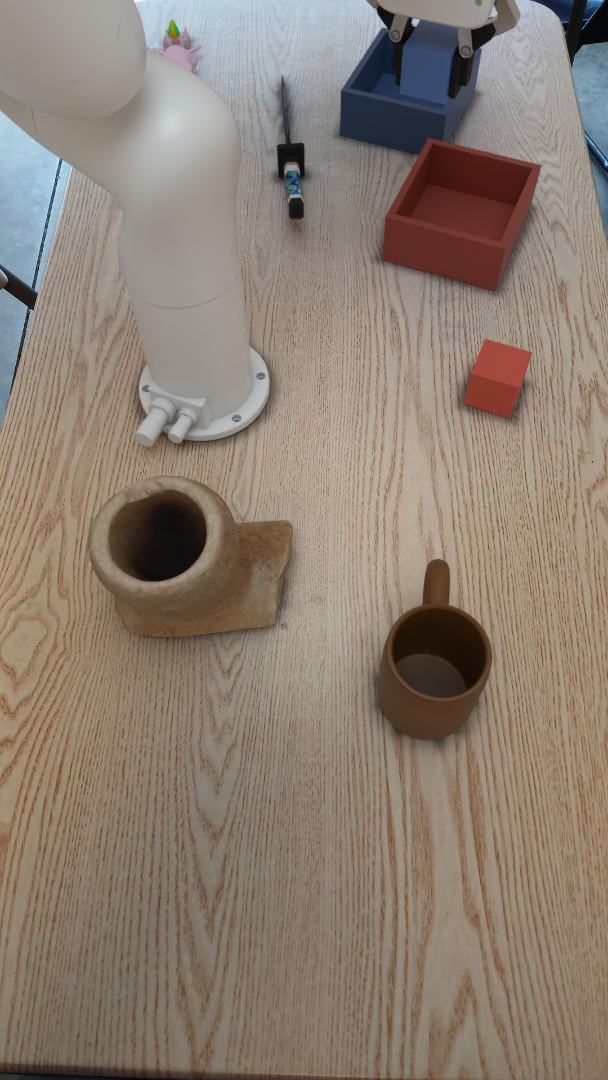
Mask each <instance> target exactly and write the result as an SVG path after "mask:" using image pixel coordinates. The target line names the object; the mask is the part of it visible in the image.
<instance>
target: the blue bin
mask: <svg viewBox="0 0 608 1080" xmlns="http://www.w3.org/2000/svg"><path fill="white" fill-rule="evenodd" d="M389 32H390V31H389V30H388V28H387V27H381V28H380V30H379V31H378V33H377V34H376V36H375V38H374V39H373V41H372V42H371V44H370V45H369V47H368V48H367V49H366V51H365V52H364V54H363V56H362V57H361V59H360V61H358V63H357V65H356V66H355V68H354V70H353V71H352V73H351V74H350V76H349V77H348V79H347V80H346V82H345V83H344V85H343V87H342V88H341V90H340V115H339V116H340V117H339V119H340V120H339V126H340V127H339V136H342V137H346V138H350V139H354V140H358V141H361V142H367V143H369V144H374V145H378V146H383V147H387V148H391V149H395V150H398V151H403V152H407V153H411V154H416V155H419V154H420V152H421V151H422V149H423V147H424V145H425V143H426V141H427V139H428V138H431V139H435V140H440V141H444V142H448V143H451V142H450V141H451V140H452V138H453V136H454V134H455V132H456V130H457V128H458V126H459V125H460V123H461V121H462V119H463V117H464V115H465V113H466V112H467V109H468V107H469V106H470V103H471V102H472V99H473V98H474V95H475V93H476V88H477V81H478V75H479V69H480V63H481V58H482V51H483V48H481V47H480V48H479V49H477V50H476V51H475V53H474V60H473V66H472V73H471V78H470V81H469V83H468V85H467V87H465V86H462V87H461V89H460V91H459V93H458V95H457V96H456V98H455V99H452V98H448V99H447V101H446V103H445V104H440V103H436V102H432V101H427V100H423V99H419V98H415V97H411V96H407V95H403V94H400V86H397V85H395V82H396V70H393V69H392V61H393V46H394V42H393V41H392V40H391V39H390V37H389Z"/></svg>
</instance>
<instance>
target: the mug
mask: <svg viewBox="0 0 608 1080" xmlns="http://www.w3.org/2000/svg"><path fill="white" fill-rule="evenodd" d="M450 593H451V570H450V565H449V563H448V562H447V561H445V560H444V559H441V558H435V559H432V560H430V561H429V562H428V564H426V568H425V573H424V578H423V586H422V603H421V605H418V606H414V607H412V608H411V609H408V610H407V611H405V612H404V613H403V614H402V615H400V616H399V617H398V618H397V620H396V621H394V623H393V625H392V627H391V628H390V629H389V632H388V635H387V638H386V640H385V642H384V646H383V649H382V654H381V660H380V665H379V666H380V667H379V674H378V679H377V698H378V702H379V705H380V708H381V710H382V713H383V714H384V716H385V717H386V719H387V720H388V722H389V723H390V724H391V725H392V726H393V727H394V728H395V729H397V730H398V731H399V732H401V733H402V734H404V735H406V736H409V737H411V738H414V739H419V740H427V741H429V740H439V739H442V738H445V737H448V736H450V735H452V734H454V733H455V732H457V731H458V730H460V728H461V727H463V725H464V724H465V723H466V722H467V720H468V719H469V718H470V716H471V715H472V712H473V711H474V709H475V707H476V705H477V703H478V701H479V699H480V697H481V696H482V693H483V692H484V690H485V688H486V685H487V682H488V681H489V678H490V672H491V669H492V665H493V647H492V643H491V640H490V638H489V636H488V634H487V632H486V631H485V628H483V626H482V624H480V623H479V621H478V620H477V619H476V618H474V617H473V616H472V615H471V614H469V613H468V612H467V611H465V610H463V609H461V608H459V607H456V606H454V605H450Z"/></svg>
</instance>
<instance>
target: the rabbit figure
mask: <svg viewBox="0 0 608 1080" xmlns="http://www.w3.org/2000/svg"><path fill="white" fill-rule="evenodd" d="M165 28H166V29H165V34H164V37H163V40H162V43H163V44H162V45H163V47H164V50H161V49H159V48H158V47H152V48H151V49H152V50H154V51H156V52H157V53H159V54H161V55H163V56H164V57H166V58H168V59H170V60H171V61H173V62H175V63H177V64H179V65H180V66H182V67H184V68H186V69H188V70H189V71H191V72H192V73H193V71H194V70H195V68H196V67H197V66H198V59H197V58H196V57H195V56H194V55H193V53H195V52H197V51H199V50H200V49H201V48H202V45H201V44H200V43H198V44H196V45H195V46H194V47H191V45H192V41H191V37H190V34H189V33H188V30H187V26H186V25H184V30H183V31H180V29H179V27H178V26H177V24H176V22H175V20H174V19H170V21H169V25H168V27H167V25H166V26H165Z"/></svg>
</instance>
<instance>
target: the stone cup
mask: <svg viewBox="0 0 608 1080" xmlns="http://www.w3.org/2000/svg"><path fill="white" fill-rule="evenodd" d="M293 532H294V528H293V524H292V522H291V521H290V520H286V519H285V520H284V519H282V520H263V521H261V520H260V521H247V522H236V520H235V518H234V516H233V514H232V511H231V509H230V507H229V505H228V504H227V503H226V501H225V500H224V499H223V498H222V497H221V495H220V494H218V493H217V492H216V491H215V490H213V489H212V488H211V487H209V486H208V485H206V484H205V483H202V482H200V481H198V480H195V479H193V478H190V477H186V476H181V475H157V476H152V477H147V478H145V479H141V480H138V481H136V482H133V483H131V484H129V485H127V486H125V487H123V488H122V489H121V490H119V491H118V492H116V493H114V494H112V496H111V497H110V498H108V499H107V500H106V501H105V503H103V505H102V506H101V508H100V509H99V510H98V511H97V514H96V515H95V517H94V519H93V521H92V523H91V525H90V529H89V534H88V542H87V548H88V556H89V561H90V564H91V567H92V569H93V571H94V573H95V576H96V577H97V579H98V580H99V582H100V583H101V585H102V586H103V587H104V588H105V589H106V590H107V591H108V592H109V593H110V594H112V596H113V600H114V608H115V612H116V614H117V616H118V617H119V618H120V621H121V624H122V625H123V627H124V628H125V629H126V630H127V631H129V632H130V633H134V634H136V635H140V636H146V637H154V638H156V637H157V638H181V637H191V636H192V637H193V636H199V635H207V634H217V633H225V632H232V631H240V630H246V629H254V628H262V627H266V626H271V625H275V624H276V623H277V618H278V609H279V607H280V605H281V595H282V590H283V587H284V578H285V574H286V572H287V569H288V567H289V564H290V562H291V551H292V542H293V541H292V540H293Z"/></svg>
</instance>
